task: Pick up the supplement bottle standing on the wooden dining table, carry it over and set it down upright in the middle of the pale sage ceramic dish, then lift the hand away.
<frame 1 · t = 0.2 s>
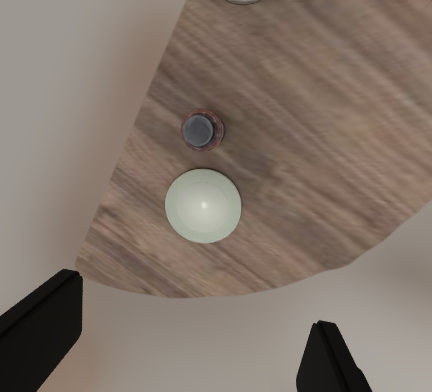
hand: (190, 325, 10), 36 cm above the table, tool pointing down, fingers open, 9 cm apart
dish: (203, 205, 47), on the table
supplement bottle: (208, 130, 43), on the table
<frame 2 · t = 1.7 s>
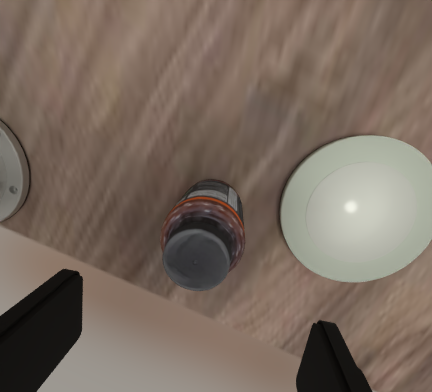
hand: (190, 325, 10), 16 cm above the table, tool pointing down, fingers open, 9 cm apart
dish: (352, 209, 24), on the table
supplement bottle: (212, 206, 25), on the table
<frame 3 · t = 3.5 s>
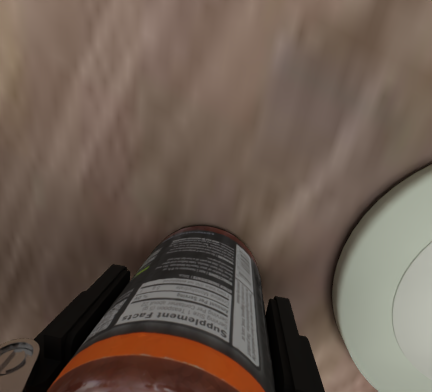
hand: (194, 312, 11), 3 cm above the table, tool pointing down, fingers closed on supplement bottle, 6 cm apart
supplement bottle: (205, 270, 14), on the table, touching gripper
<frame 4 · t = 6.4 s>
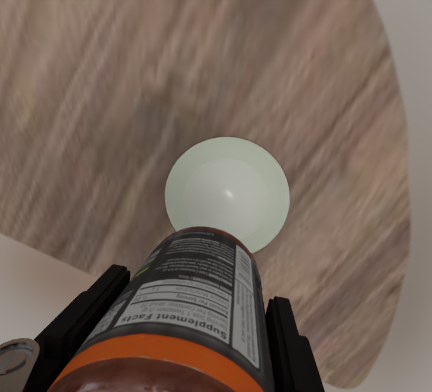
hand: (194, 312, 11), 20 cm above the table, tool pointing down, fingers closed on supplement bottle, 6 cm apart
dish: (226, 197, 29), on the table
supplement bottle: (205, 271, 14), point 16 cm above the table, touching gripper
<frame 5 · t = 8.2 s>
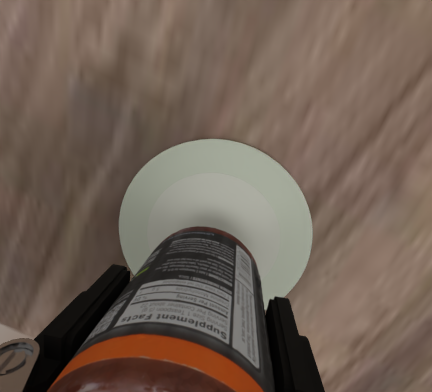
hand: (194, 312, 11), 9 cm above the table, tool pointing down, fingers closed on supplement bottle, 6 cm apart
dish: (214, 230, 19), on the table
supplement bottle: (205, 271, 14), point 6 cm above the table, touching gripper
when the fingers open (6 cm above the table, at t = 9.8 s): supplement bottle drops 1 cm, resting on dish.
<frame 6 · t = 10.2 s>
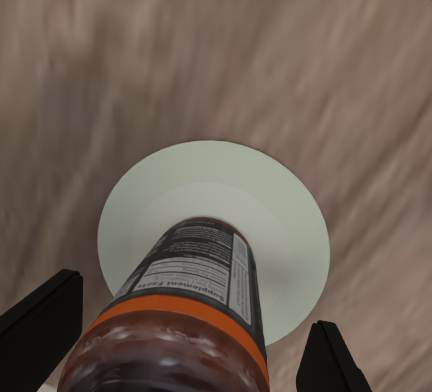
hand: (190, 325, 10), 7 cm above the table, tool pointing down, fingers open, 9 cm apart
dish: (211, 248, 16), on the table
supplement bottle: (206, 258, 15), point 1 cm above the table, touching dish
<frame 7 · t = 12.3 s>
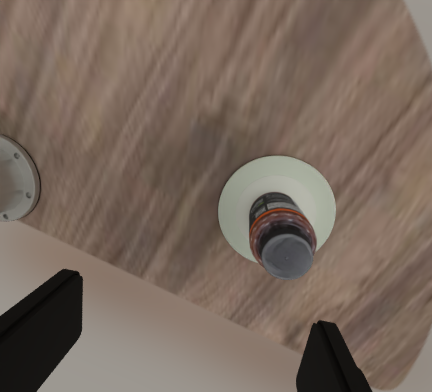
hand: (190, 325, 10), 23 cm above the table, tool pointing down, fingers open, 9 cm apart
dish: (273, 210, 32), on the table
supplement bottle: (273, 213, 30), point 1 cm above the table, touching dish
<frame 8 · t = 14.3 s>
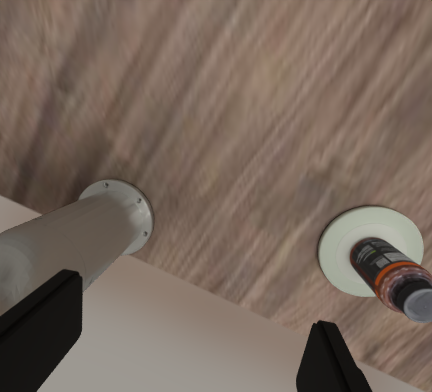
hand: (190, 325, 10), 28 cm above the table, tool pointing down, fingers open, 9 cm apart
dish: (365, 249, 37), on the table
supplement bottle: (368, 254, 36), point 1 cm above the table, touching dish
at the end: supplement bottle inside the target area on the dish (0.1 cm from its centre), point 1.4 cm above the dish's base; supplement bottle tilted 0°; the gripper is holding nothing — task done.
